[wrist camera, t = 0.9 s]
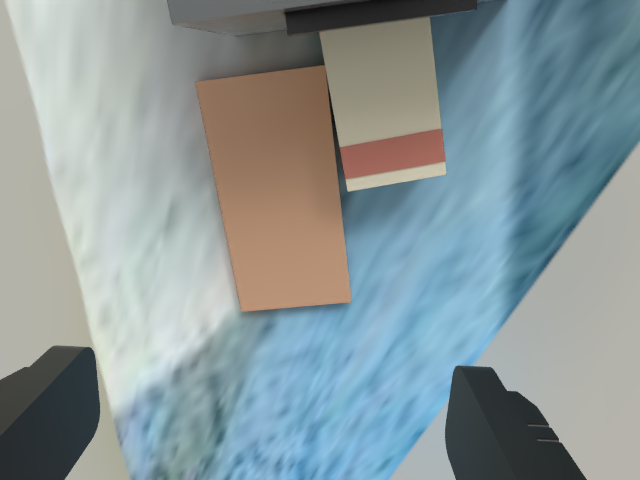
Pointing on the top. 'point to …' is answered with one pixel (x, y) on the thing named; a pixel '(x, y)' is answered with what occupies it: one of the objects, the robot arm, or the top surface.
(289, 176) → the tile
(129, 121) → the top surface
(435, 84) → the cream box
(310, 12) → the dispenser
